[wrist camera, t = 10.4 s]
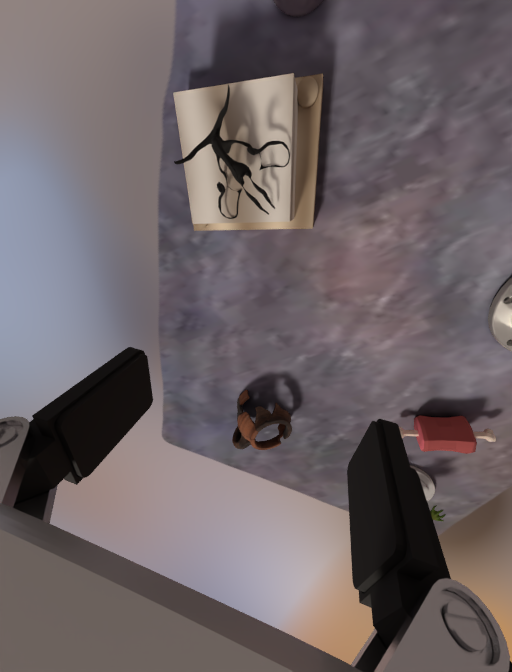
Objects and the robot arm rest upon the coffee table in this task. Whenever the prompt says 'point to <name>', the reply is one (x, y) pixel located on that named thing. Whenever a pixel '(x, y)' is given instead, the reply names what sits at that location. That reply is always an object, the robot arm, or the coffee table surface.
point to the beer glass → (297, 6)
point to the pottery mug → (259, 425)
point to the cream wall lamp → (256, 129)
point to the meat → (446, 434)
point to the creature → (235, 167)
